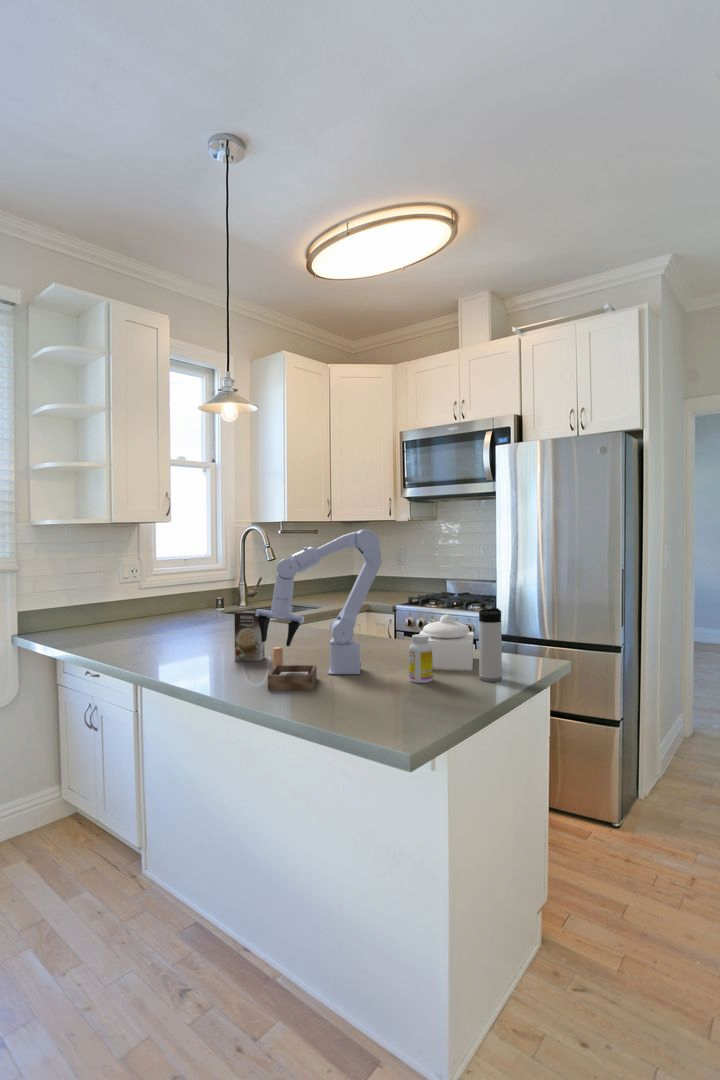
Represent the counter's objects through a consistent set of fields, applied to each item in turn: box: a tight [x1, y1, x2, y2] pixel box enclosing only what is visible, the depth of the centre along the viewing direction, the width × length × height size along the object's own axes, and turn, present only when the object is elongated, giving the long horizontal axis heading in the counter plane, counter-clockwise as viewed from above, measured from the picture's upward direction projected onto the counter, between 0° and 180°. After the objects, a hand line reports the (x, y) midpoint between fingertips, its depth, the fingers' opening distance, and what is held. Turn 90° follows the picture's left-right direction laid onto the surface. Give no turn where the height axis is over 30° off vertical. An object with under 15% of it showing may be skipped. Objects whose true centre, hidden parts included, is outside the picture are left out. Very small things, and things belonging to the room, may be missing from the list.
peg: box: [272, 646, 284, 669], centre depth 172 cm, size 3×3×8 cm
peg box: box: [267, 664, 318, 691], centre depth 162 cm, size 12×12×4 cm
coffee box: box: [233, 609, 266, 662], centre depth 194 cm, size 9×6×16 cm
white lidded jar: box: [419, 614, 475, 672], centre depth 185 cm, size 18×18×16 cm
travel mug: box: [478, 607, 503, 683], centre depth 164 cm, size 6×7×20 cm
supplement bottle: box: [408, 633, 434, 684], centre depth 164 cm, size 7×7×13 cm
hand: (275, 643), depth 173 cm, fingers open, 7 cm apart
